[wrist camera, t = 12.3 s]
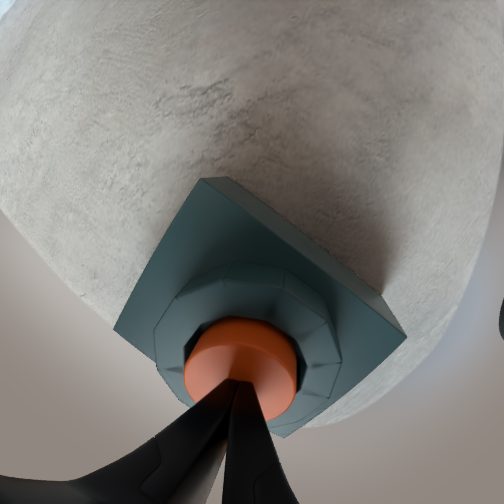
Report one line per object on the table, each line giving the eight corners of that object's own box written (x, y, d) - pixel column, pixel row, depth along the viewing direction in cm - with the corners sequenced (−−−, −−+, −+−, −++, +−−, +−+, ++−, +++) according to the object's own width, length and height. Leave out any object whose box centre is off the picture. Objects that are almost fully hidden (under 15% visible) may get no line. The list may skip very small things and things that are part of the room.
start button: (317, 352, 9) (320, 384, 8) (256, 405, 10) (250, 437, 9) (233, 294, 9) (220, 320, 8) (181, 358, 10) (164, 387, 9)
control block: (382, 296, 14) (422, 363, 8) (287, 387, 16) (281, 465, 11) (227, 175, 13) (180, 179, 8) (150, 294, 16) (91, 349, 10)
